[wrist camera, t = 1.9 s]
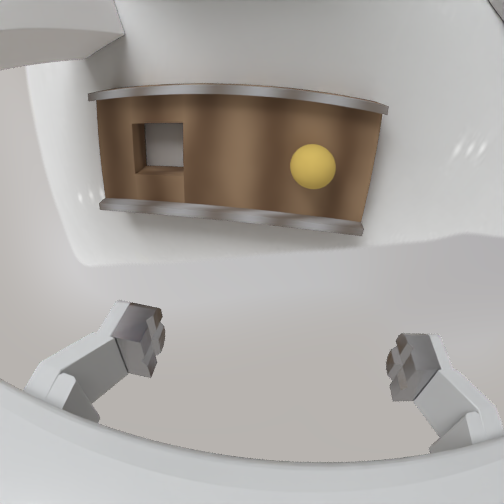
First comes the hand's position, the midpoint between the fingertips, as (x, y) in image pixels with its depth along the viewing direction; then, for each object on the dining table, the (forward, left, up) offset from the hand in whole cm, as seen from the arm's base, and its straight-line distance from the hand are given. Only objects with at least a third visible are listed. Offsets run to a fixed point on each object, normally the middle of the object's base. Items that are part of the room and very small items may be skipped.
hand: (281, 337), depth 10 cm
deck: (+6, 0, -25) cm, 25 cm away
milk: (+22, -14, -25) cm, 36 cm away
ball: (-2, 0, -20) cm, 20 cm away
